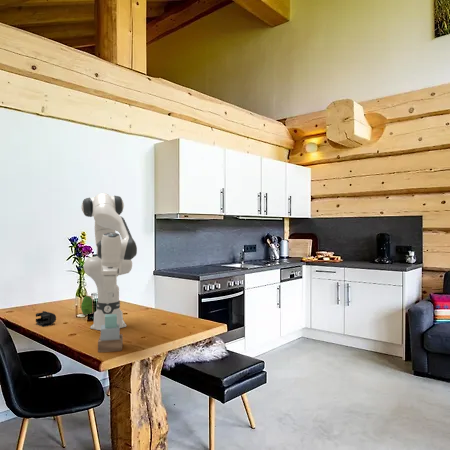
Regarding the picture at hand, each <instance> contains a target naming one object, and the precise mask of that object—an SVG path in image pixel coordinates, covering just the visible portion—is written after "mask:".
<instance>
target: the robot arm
mask: <svg viewBox="0 0 450 450" xmlns="http://www.w3.org/2000/svg"><path fill="white" fill-rule="evenodd" d="M124 207H125V204H124V200H123V198H122V197H121V196H119V195H109V194H108V193H105V192H101V193H98V194H96V195H95V196H93V197H86V198H84V199H83V200H82V202H81V211H82V213H83V215H84V216H85V217H88V218H92V217H93V220H94V237H95V246H96V256H91V257H87V258H86V260H85V261H84V263H83V271H84V273H85V274H86V276H88V277H89V278H91V279H92V281H93V282H94V283H95V286H96V288H97V301H96V311H94V312H93V324H92V325H90V328H89V329H90V330H91V329H93V330H95V331H101V325H105V315H107V314H117V324H119V327H120V329H122V328H126V327H127V324H126V322H125V321H124V317H123V311H122V310H121V301H120V287H119V286H118V284H117V281H118V279H117V278H118V277H119V276H123V275H126V274H129V273H130V272H131V271H132V269H133V261H132V260H133V259H134V258H135V257H136V256H137V254H138V247H137V243H136V241H135V240H134V239H133V236H132V234H131V232H130V230H129V226H128V225H127V222H126V221H125V218H124V217H123V216H121V215H122V213H123V212H124V211H123V210H124Z"/></svg>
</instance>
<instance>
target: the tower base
mask: <svg viewBox="0 0 450 450" xmlns="http://www.w3.org/2000/svg"><path fill="white" fill-rule="evenodd" d="M123 336H124V335H123V334H122V333H121V334H120V340H106V341H101V334H100V335H99V337H98V341H97V353H109V352H121V351H122V350H123V344H124V343H123V341H124V340H123Z"/></svg>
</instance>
